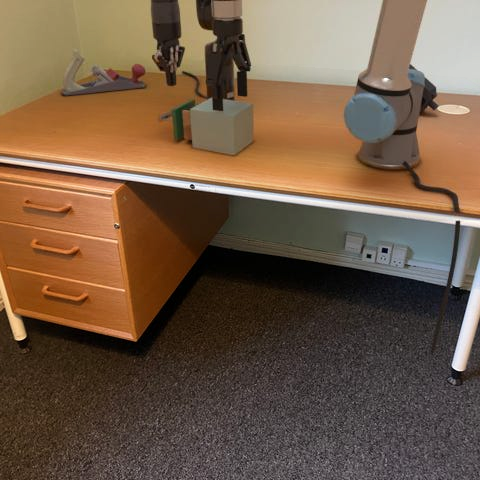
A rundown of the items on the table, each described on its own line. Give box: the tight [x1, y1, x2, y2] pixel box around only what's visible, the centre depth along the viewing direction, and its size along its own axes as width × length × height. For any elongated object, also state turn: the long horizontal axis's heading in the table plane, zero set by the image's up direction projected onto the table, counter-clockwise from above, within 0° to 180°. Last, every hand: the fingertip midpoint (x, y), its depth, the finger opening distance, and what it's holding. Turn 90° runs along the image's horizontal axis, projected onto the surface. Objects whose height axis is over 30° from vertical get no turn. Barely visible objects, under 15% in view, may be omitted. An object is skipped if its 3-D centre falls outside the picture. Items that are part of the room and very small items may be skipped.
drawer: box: [156, 98, 201, 141], centre depth 151 cm, size 18×10×9 cm, turn 62°
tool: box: [409, 63, 439, 113], centre depth 169 cm, size 6×19×15 cm, turn 51°
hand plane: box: [61, 48, 146, 96], centre depth 194 cm, size 7×31×15 cm, turn 107°
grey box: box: [190, 98, 254, 156], centre depth 147 cm, size 13×12×11 cm
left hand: (171, 85), depth 148 cm, fingers closed
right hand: (230, 102), depth 142 cm, fingers open, 13 cm apart
